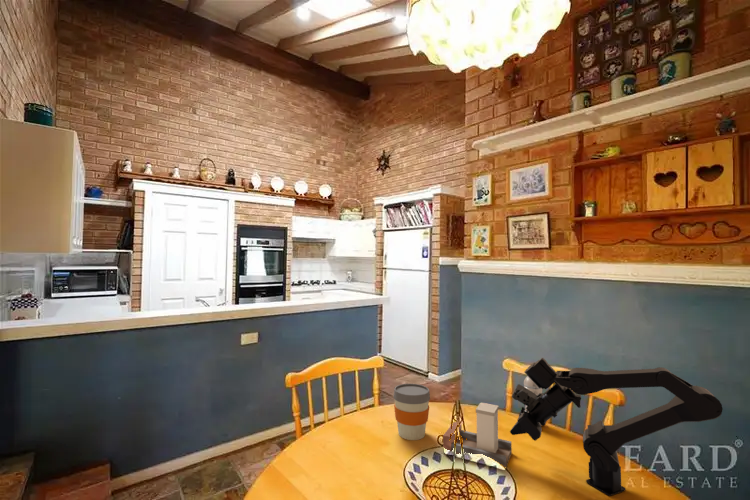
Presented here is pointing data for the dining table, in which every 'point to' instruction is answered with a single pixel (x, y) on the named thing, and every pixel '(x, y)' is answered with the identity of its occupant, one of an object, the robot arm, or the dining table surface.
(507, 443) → the track
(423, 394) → the reusable coffee cup
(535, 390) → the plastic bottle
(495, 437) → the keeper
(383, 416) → the dining table surface
